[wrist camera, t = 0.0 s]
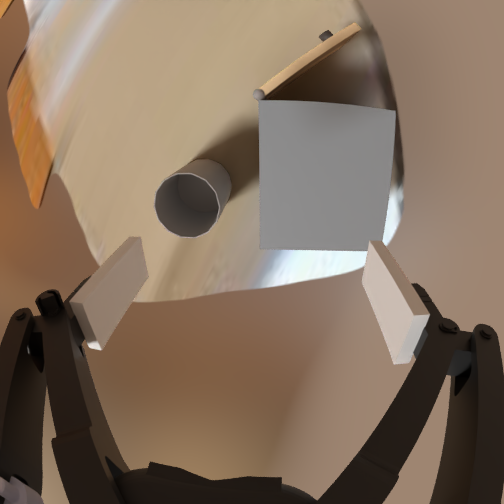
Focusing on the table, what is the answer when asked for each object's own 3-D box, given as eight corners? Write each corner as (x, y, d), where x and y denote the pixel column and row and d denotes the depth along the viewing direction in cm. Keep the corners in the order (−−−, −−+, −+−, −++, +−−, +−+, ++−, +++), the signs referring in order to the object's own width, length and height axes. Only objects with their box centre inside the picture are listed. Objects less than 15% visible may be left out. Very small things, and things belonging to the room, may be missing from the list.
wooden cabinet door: (250, 92, 36) (242, 84, 26) (328, 35, 31) (346, 12, 21) (262, 105, 36) (258, 102, 26) (340, 48, 31) (361, 29, 22)
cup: (172, 165, 42) (145, 181, 33) (223, 153, 41) (209, 165, 32) (186, 216, 46) (166, 243, 37) (236, 206, 44) (226, 232, 35)
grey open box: (263, 104, 37) (258, 100, 25) (361, 110, 36) (395, 110, 24) (264, 210, 44) (260, 249, 33) (354, 213, 43) (380, 251, 32)
